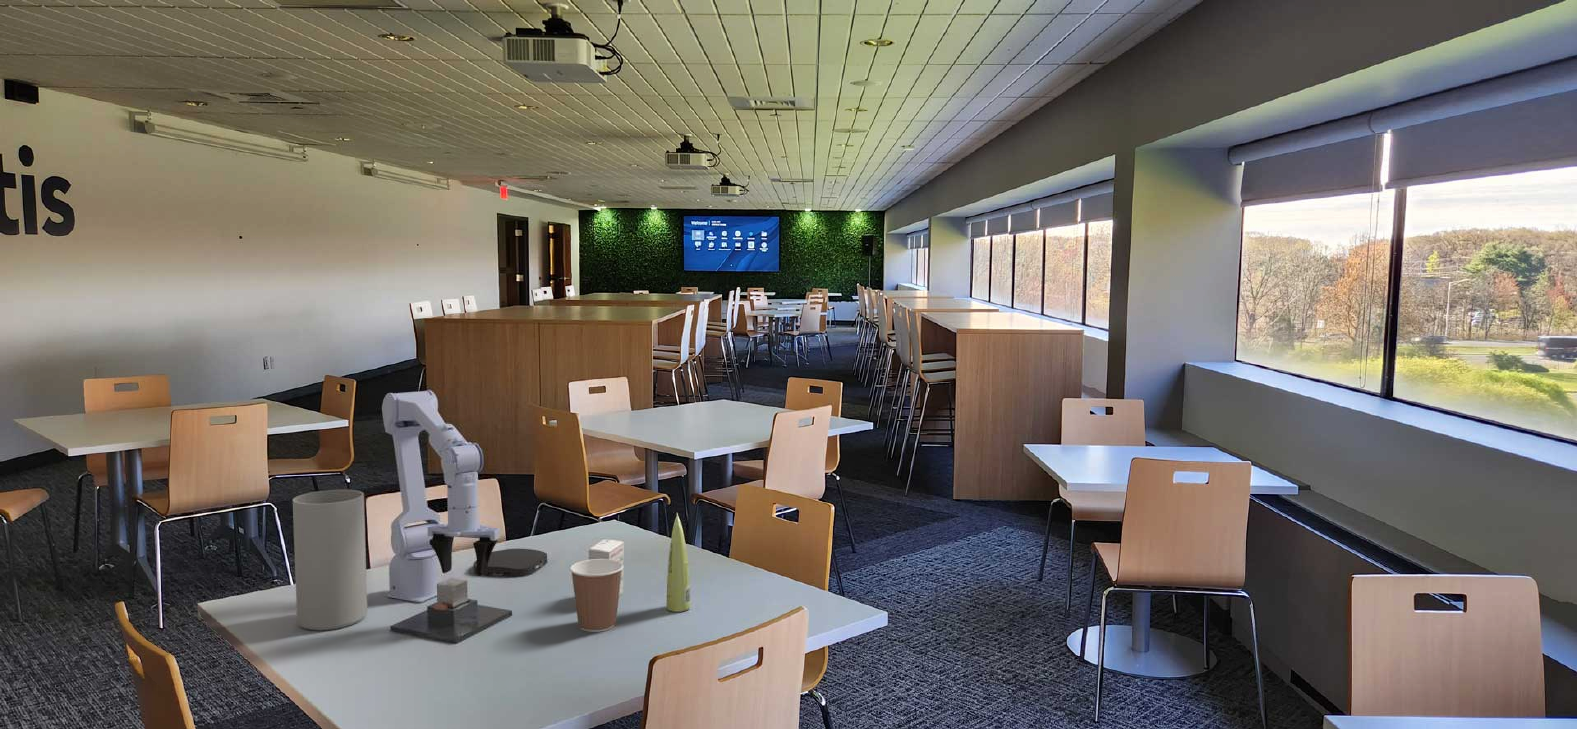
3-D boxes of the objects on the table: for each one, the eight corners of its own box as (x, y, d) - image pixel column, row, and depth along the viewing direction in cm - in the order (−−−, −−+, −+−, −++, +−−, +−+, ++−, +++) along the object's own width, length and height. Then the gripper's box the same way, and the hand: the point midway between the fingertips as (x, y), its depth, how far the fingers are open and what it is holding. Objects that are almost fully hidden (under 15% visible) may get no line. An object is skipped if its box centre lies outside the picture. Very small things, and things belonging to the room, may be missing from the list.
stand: (390, 631, 174) (390, 608, 174) (449, 604, 189) (449, 583, 189) (456, 643, 169) (455, 619, 168) (512, 615, 183) (511, 593, 183)
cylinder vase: (282, 626, 176) (277, 500, 174) (334, 605, 188) (330, 487, 186) (331, 635, 172) (326, 506, 170) (381, 613, 184) (378, 493, 181)
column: (436, 618, 178) (435, 584, 177) (451, 611, 181) (451, 577, 181) (453, 621, 176) (452, 586, 175) (468, 614, 180) (467, 580, 179)
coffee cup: (633, 620, 181) (633, 562, 180) (606, 638, 172) (606, 577, 171) (588, 613, 185) (588, 556, 184) (560, 631, 175) (559, 571, 174)
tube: (659, 608, 188) (659, 516, 187) (677, 602, 192) (677, 511, 191) (677, 614, 185) (678, 521, 183) (695, 608, 189) (696, 516, 187)
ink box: (609, 606, 189) (609, 551, 188) (586, 604, 190) (586, 549, 189) (624, 593, 198) (624, 539, 197) (603, 591, 199) (603, 538, 198)
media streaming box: (496, 557, 223) (496, 546, 223) (552, 561, 221) (552, 549, 221) (467, 576, 209) (467, 563, 209) (527, 579, 207) (527, 567, 207)
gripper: (417, 508, 175) (419, 576, 176) (486, 512, 173) (487, 582, 174) (438, 500, 182) (439, 565, 183) (504, 504, 179) (505, 570, 181)
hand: (464, 573), depth 179 cm, fingers open, 7 cm apart
